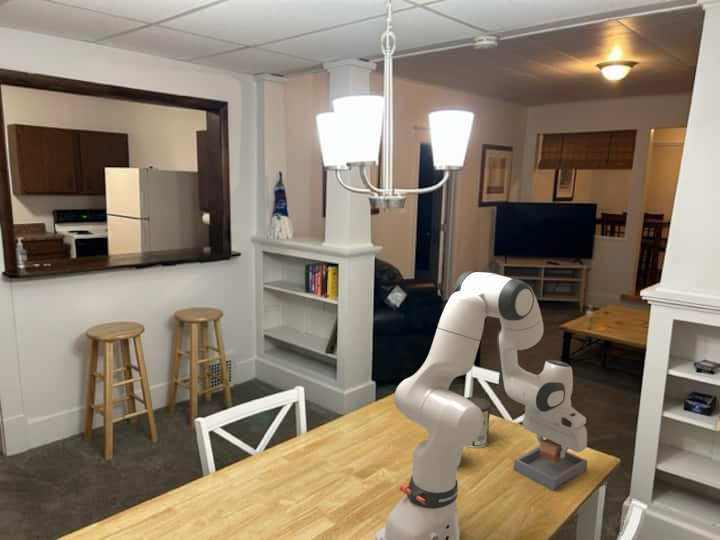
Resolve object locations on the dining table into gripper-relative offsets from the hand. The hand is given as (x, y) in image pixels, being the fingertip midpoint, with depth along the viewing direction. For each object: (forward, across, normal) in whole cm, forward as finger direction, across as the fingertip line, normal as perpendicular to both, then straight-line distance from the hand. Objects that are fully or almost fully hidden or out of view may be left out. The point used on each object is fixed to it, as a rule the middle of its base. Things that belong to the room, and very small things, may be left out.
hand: (551, 452), depth 162 cm
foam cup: (+6, -22, -22) cm, 32 cm away
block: (+2, 0, 0) cm, 2 cm away
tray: (+6, 0, 0) cm, 6 cm away
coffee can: (+6, -27, -5) cm, 28 cm away
